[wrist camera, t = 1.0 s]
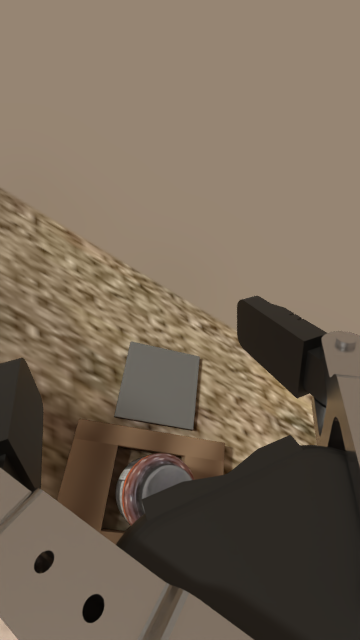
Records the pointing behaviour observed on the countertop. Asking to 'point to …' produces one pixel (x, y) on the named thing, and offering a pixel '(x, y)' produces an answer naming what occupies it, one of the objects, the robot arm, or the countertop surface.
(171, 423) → the rubber mat
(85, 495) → the walnut holder
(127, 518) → the supplement bottle
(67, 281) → the countertop surface
